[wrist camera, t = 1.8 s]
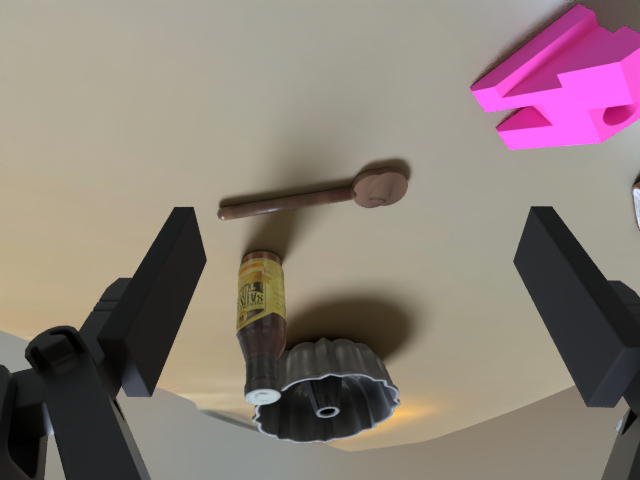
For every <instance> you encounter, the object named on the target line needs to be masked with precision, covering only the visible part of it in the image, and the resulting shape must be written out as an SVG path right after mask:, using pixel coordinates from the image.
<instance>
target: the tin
mask: <svg viewBox="0 0 640 480" xmlns="http://www.w3.org/2000/svg"><path fill="white" fill-rule="evenodd" d="M632 197H633V205H634V213H635V219H636V223H637V226H638V228H639V231H640V182H639V183H637V184H635V185H634V186H633V187H632Z"/></svg>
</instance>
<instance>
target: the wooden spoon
mask: <svg viewBox="0 0 640 480" xmlns="http://www.w3.org/2000/svg"><path fill="white" fill-rule="evenodd" d="M407 187H408V183H407V180H406V178H405V176H404V174H403V172H402V171H401V170H399V169H397V168H394V167H384V168H380V169H371V170H367V171H364V172H362V173H361V174H359V175H358V176H357V177H356V178H355V179H354V181H353V183H352V186H351V187H348V188H342V189H335V190H329V191H323V192H317V193H310V194H304V195H298V196H292V197H286V198H279V199H273V200H267V201H261V202H255V203H248V204H242V205H236V206H230V207H223V208H220V209H219V210H218V213H217V215H218V218H219V219H221V220H230V219H236V218H243V217H249V216H255V215H261V214H267V213H274V212H280V211H286V210H292V209H298V208H304V207H311V206H317V205H323V204H329V203H335V202H342V201H348V200H353V199H354V201H355V202H356V203H357V204H358V205H360V206H362V207H365V208H374V207H378V206H386V205H391V204H394V203H396V202H397V201H399V200H400V199H401V198H402V197H403V196H404V195H405V193H406V191H407Z"/></svg>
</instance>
